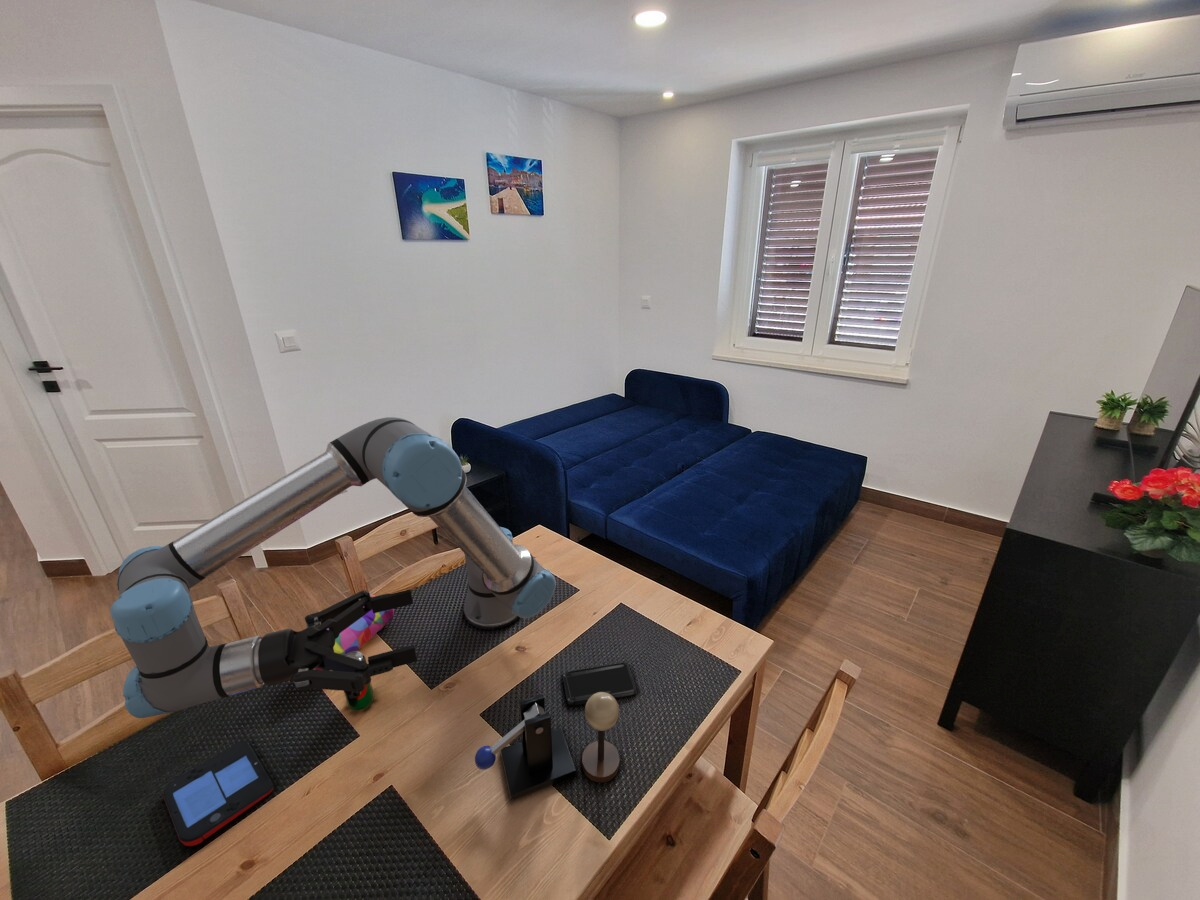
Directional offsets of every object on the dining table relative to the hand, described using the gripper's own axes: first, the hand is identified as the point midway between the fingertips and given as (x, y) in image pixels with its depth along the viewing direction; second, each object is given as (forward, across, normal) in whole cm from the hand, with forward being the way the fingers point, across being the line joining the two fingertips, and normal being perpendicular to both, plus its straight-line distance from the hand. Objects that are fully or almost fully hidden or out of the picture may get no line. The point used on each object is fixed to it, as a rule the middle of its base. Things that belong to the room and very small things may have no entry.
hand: (413, 622), depth 80 cm
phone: (+34, -2, -31) cm, 46 cm away
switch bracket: (+17, +10, -31) cm, 37 cm away
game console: (-36, -5, -31) cm, 48 cm away
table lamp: (+28, +14, -31) cm, 44 cm away
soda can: (-14, -16, -31) cm, 38 cm away
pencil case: (-17, -32, -31) cm, 48 cm away
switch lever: (+13, +10, -23) cm, 28 cm away
